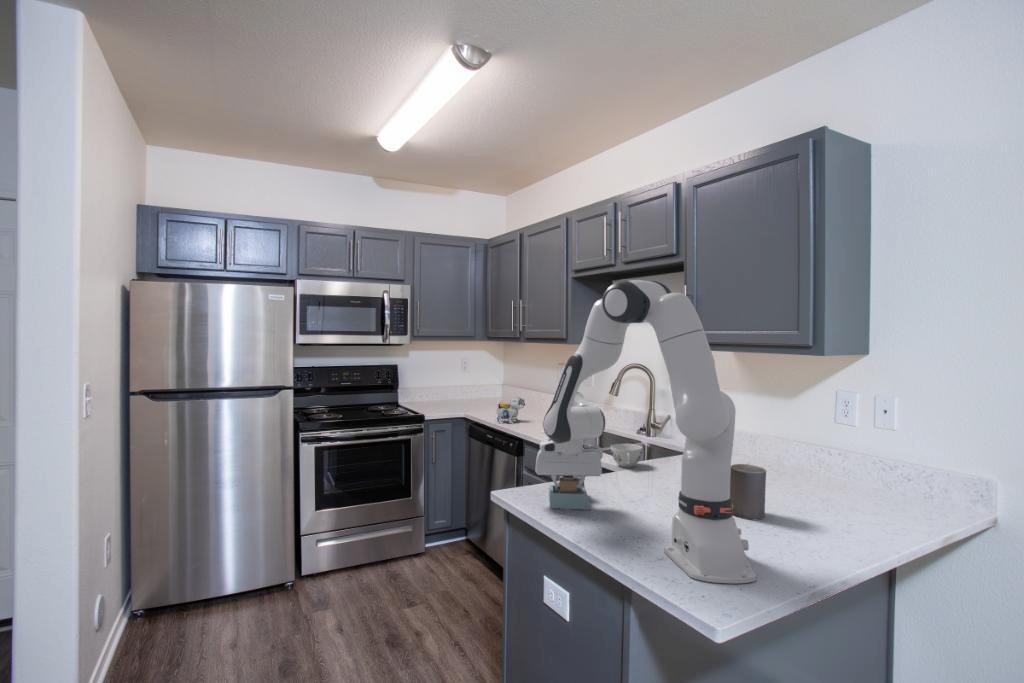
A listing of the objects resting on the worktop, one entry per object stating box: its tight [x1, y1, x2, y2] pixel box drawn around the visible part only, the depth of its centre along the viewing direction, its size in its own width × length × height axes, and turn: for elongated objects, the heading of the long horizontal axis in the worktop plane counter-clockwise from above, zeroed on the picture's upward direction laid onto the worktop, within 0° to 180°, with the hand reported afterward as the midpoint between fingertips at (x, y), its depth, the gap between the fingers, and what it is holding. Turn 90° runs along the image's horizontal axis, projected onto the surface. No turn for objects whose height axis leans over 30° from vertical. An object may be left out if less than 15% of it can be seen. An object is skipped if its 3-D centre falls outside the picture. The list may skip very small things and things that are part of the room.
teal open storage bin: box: [548, 476, 592, 510], centre depth 164 cm, size 16×12×6 cm
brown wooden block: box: [558, 475, 577, 494], centre depth 161 cm, size 6×5×6 cm
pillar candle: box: [730, 463, 767, 520], centre depth 155 cm, size 10×10×15 cm
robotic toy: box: [496, 396, 526, 424], centre depth 309 cm, size 13×17×15 cm
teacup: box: [610, 443, 644, 469], centre depth 209 cm, size 15×12×8 cm
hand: (567, 489), depth 161 cm, fingers open, 5 cm apart
